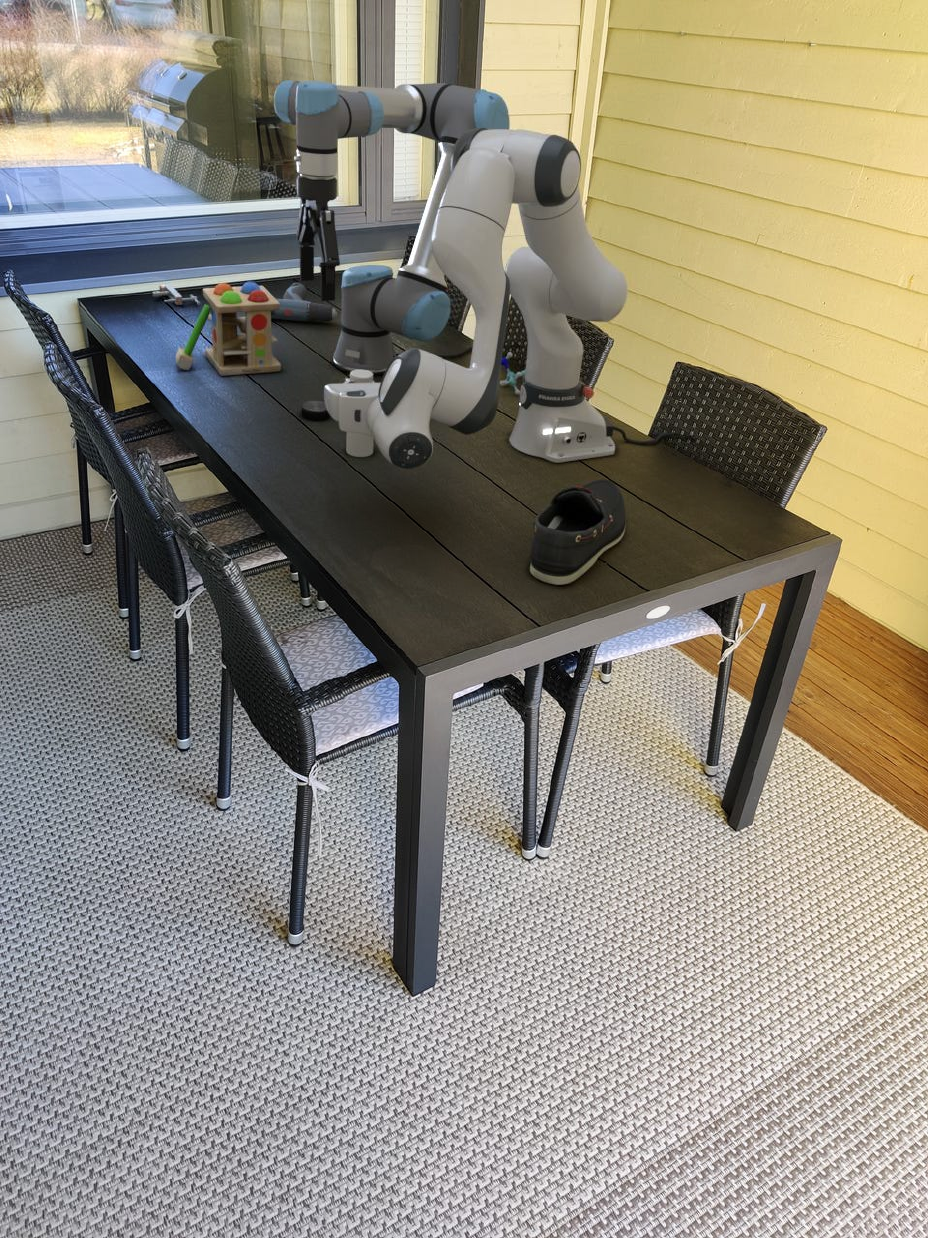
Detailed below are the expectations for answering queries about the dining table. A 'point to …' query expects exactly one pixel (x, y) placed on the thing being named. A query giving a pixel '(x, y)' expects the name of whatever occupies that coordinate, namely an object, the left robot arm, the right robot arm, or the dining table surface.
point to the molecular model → (511, 374)
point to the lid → (315, 411)
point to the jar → (355, 441)
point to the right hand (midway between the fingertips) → (374, 381)
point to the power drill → (301, 307)
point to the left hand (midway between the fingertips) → (317, 289)
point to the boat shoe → (576, 531)
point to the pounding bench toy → (229, 347)
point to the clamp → (173, 295)
